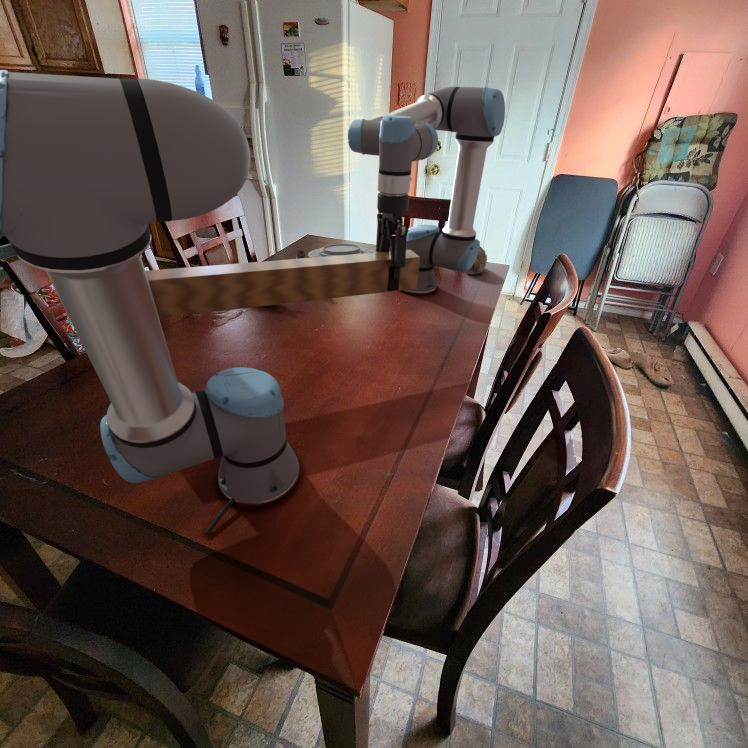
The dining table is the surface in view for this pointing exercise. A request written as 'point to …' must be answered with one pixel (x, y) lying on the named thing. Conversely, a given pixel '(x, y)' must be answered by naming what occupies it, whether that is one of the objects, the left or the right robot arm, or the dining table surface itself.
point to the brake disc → (339, 250)
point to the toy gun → (300, 254)
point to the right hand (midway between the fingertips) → (388, 285)
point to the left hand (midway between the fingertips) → (138, 312)
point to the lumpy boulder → (478, 263)
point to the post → (275, 282)
